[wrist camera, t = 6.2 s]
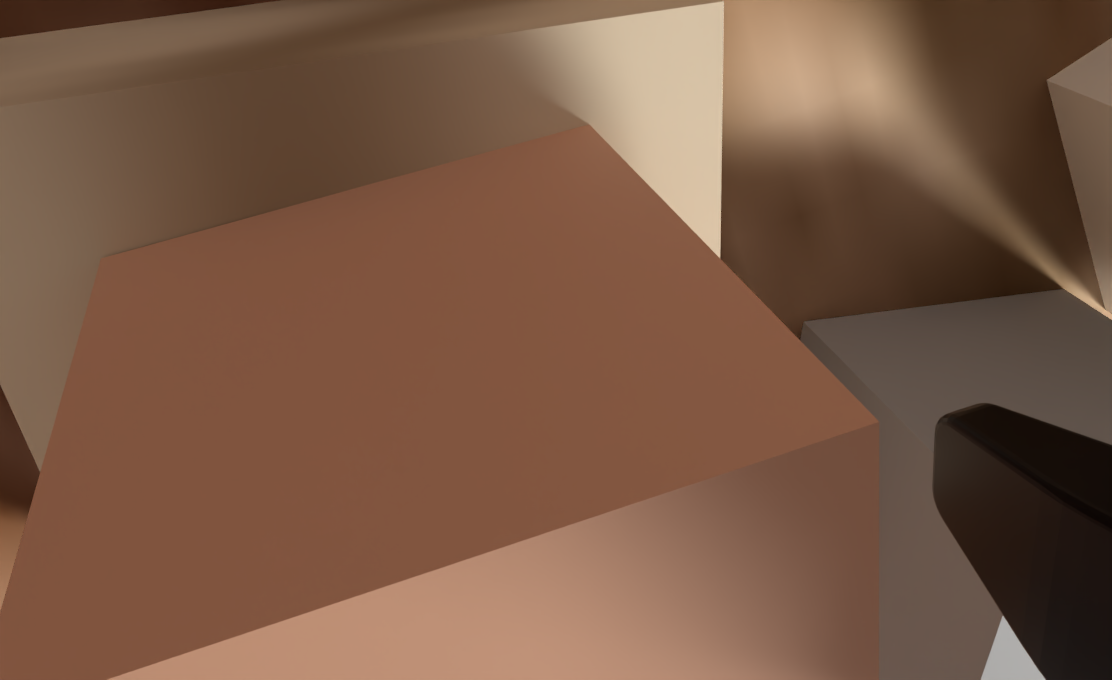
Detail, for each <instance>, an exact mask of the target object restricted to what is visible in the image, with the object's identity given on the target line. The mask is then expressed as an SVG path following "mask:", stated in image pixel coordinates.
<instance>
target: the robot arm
mask: <svg viewBox="0 0 1112 680" xmlns="http://www.w3.org/2000/svg"><path fill="white" fill-rule="evenodd" d="M932 492H933V498H934V501H935V505H936V507H937V510H938V512H939V514H940V516H941V518H942V519H943V521H944V523H945V524H946V526H947V527H948V529H949V531H950V532H951V534H952V535H953V537H954V539H955V540H956V542H957V543H958V545H959V546H960V548H961V550H962V551H963V553H964V554H965V556H966V558H967V559H968V561H969V562H970V564H971V565H972V567H973V569H974V570H975V572H976V573H977V575H978V577H979V578H980V580H981V581H982V583H983V584H984V586H985V588H986V589H987V591H988V592H989V594H990V596H991V597H992V599H993V600H994V602H995V603H996V605H997V607H998V608H999V610H1000V611H1001V613H1002V615H1003V616H1004V618H1005V619H1006V621H1007V622H1008V624H1009V626H1010V627H1011V629H1012V630H1013V632H1014V634H1015V635H1016V637H1017V638H1018V640H1019V642H1020V643H1021V645H1022V646H1023V648H1024V649H1025V651H1026V652H1027V654H1028V655H1029V657H1030V658H1031V660H1032V661H1033V663H1034V664H1035V666H1036V667H1037V669H1038V670H1039V671H1040V673H1041V674H1042V675H1043V677H1044V678H1045V679H1046V680H1112V445H1111V444H1108V443H1105V442H1102V441H1099V440H1097V439H1094V438H1091V437H1088V436H1085V435H1082V434H1079V433H1076V432H1073V431H1071V430H1068V429H1065V428H1062V427H1059V426H1056V425H1053V424H1050V423H1047V422H1044V421H1042V420H1039V419H1036V418H1033V417H1030V416H1027V415H1024V414H1021V413H1018V412H1015V411H1013V410H1010V409H1007V408H1004V407H1001V406H998V405H995V404H991V403H978V404H975V405H972V406H969V407H966V408H962V409H959V410H956V411H953V412H950V413H947V414H945V415H943V416H942V417H940V419H939V420H938V422H937V424H936V427H935V436H934V457H933V479H932Z"/></svg>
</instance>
